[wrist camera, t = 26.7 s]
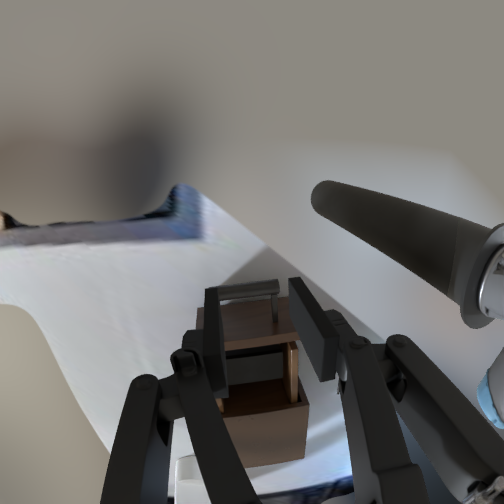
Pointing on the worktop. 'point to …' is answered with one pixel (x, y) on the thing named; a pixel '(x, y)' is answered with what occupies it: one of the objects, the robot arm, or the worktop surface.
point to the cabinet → (270, 432)
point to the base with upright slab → (189, 482)
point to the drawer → (258, 343)
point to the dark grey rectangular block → (254, 364)
